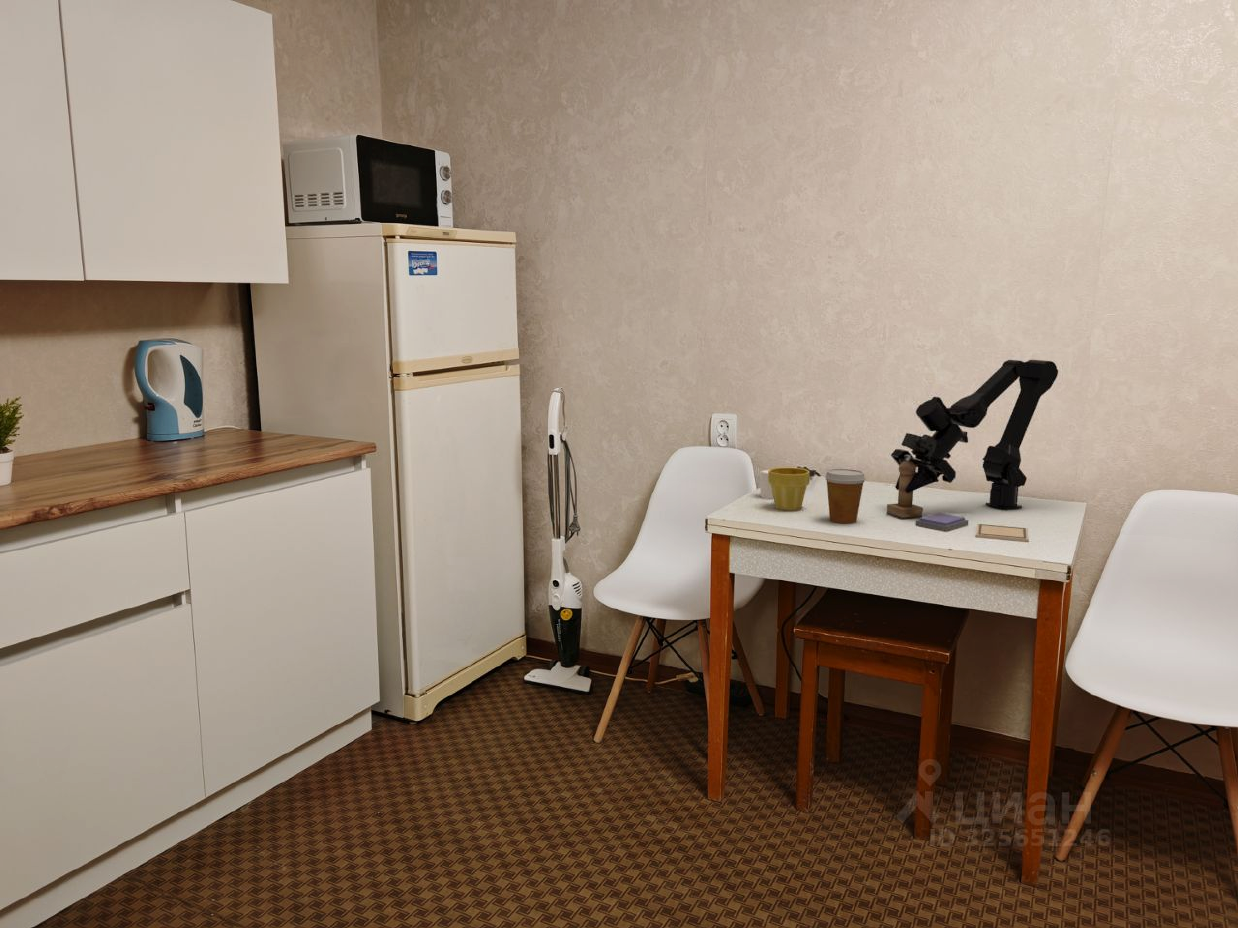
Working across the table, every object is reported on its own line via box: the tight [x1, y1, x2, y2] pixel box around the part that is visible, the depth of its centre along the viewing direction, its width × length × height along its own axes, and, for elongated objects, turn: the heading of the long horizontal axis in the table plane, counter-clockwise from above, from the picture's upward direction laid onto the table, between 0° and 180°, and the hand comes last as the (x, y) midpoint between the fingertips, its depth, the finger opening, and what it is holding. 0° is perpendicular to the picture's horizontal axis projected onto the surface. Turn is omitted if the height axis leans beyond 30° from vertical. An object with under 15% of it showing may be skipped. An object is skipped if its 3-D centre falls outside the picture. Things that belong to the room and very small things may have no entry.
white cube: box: [759, 469, 774, 500], centre depth 253 cm, size 7×7×7 cm
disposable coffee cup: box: [824, 468, 866, 525], centre depth 226 cm, size 10×10×12 cm
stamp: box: [886, 461, 924, 521], centre depth 230 cm, size 6×6×14 cm
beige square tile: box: [975, 523, 1030, 543], centre depth 215 cm, size 11×11×1 cm
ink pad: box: [915, 512, 970, 532], centre depth 222 cm, size 10×8×2 cm
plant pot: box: [768, 466, 811, 512], centre depth 239 cm, size 10×10×10 cm
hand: (901, 490), depth 230 cm, fingers closed on stamp, 3 cm apart
